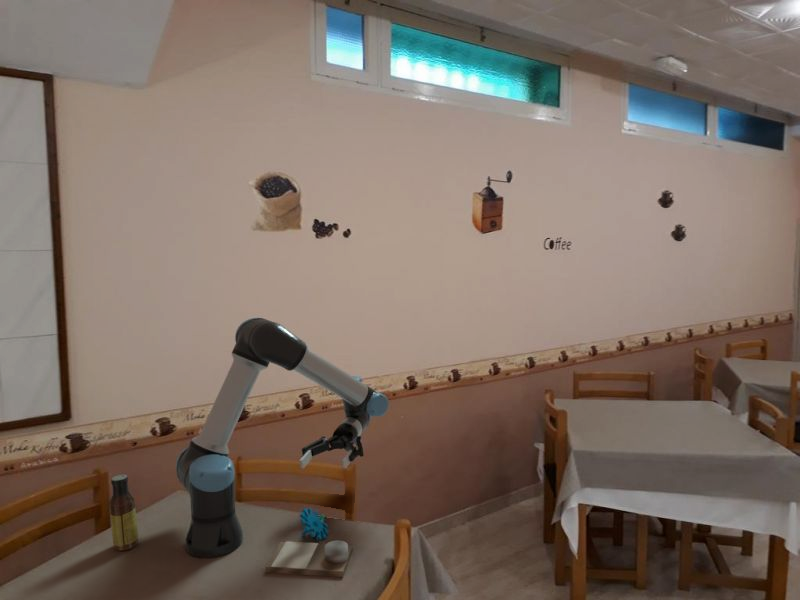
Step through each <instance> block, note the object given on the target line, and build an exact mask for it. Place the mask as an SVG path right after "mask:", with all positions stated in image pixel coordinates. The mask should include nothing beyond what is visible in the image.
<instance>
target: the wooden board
mask: <svg viewBox="0 0 800 600" xmlns="http://www.w3.org/2000/svg"><path fill="white" fill-rule="evenodd" d="M353 548H354V547H353V545H349V543H347V542H346V541H344V540H339V539H338V540H337V539H335V540H332V541H331V540H330V541H329V542H327V543H318V542H301V541H280V542H279V543H278V546H276V549H275V550H274V552H273V553H272V555H271V557H270V559H269V560H268V562H267V563H266V565H265V566H264V567H265V573H272V574H286V575H287V574H288V575H301V576H302V575H305V576H320V577H335V578H344V576H345V573H346V570H347V567H348V565H349V562H350V559H351V556H352V555H353V551H354V550H353Z"/></svg>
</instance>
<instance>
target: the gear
mask: <svg viewBox="0 0 800 600" xmlns="http://www.w3.org/2000/svg"><path fill="white" fill-rule="evenodd" d="M312 512H313V508H311V507H308V508H303V509H302V513H300V514H299V517H300V518H301V520H300V524H301V525H303V526H305V527H303V529H304V530H303V531H302V532H301V535H302V536H303V537H304V536H305V535H307V534H308V533H309V532H310V531H311V532H310V533H309V536H310V537H311V538H312V539H314V538H316V540H317V541H321V540H326V538H328V537H327V535H328V534H329V532H330V531H329V529H327V528H328V523H327V522H324V520H325V517H326V516H325V514H324V513H321V514H320V515H319V511H318V510H317V509H316V510H314V512H313V513H312ZM318 515H319V516H318ZM316 535H317V536H316Z"/></svg>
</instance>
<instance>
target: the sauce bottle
mask: <svg viewBox="0 0 800 600" xmlns="http://www.w3.org/2000/svg"><path fill="white" fill-rule="evenodd" d="M110 481H111V485H112V496H111V498H110V500H109V511H110V512H109V515H110V526H111V536H112V537H111V538H112V544H113V547H114V549H115V550H116V551H118V552H119V551H120V552H121V551H129V550H131V549H133V548H135V547H136V546H137V545H138V544H139V531H138V523H137V522H138V521H137V514H136V513H137V512H136V505H135V499H134V497H133V495H132V494H131V493H130V491H129V485H128V484H129V483H128V481H129V478H128V475H127V474H117V475H115V476H113V477H111V479H110Z"/></svg>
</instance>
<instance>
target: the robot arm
mask: <svg viewBox="0 0 800 600" xmlns="http://www.w3.org/2000/svg"><path fill="white" fill-rule="evenodd" d="M234 339H235V340H234V341H235V344H234V347H233V350H232V351H231V356H232V358H233V361H232V364H231V366H230V368H229V370H228V372H227V374H226V377H225V379H224V381H223V383H222V385H221V388H220V389H219V391H218V394H217V396H216V398H215V401H214V403H213V405H212V407H211V410H210V411H209V413H208V415H207V418H206V420H205V421H204V425H203V426H202V428H201V431H200V433H199V434H198V435H196V436H194V437H192V439H190V442H189V445H188V446H187V447H185V448H184V449H183V450H182V451H181V452H180V453H179V454H178V456H177V459H176V460H175V461H176V462H175V472H176V476H177V478H178V480H179V481H178V482H180V483H181V484H182V485H183V487H184V488H185V490H186V491H187V493H188V494H189V498H190V513H191V516H190V517H191V518H190V519H191V520H190V524H189V526H188V530H187V533H186V537H185V550H186V552H187V554H189V556H190V555H191V556H192V557H196V558H205V559H207V558H215V557H221V556H223V555H226V554H229V553H231V552H233V551H235V550H236V549H238V548H239V547H240V546H241V544H242V543H243V541H244V535H243V534H244V531H243V529H242V528H243V527H242V525H241V523H240V521H239V518H238V515H237V514H236V513H237V512H236V493H235V492H236V489H235V487H236V486H235V485H236V484H235V476H236V473H235V472H236V471H235V467H234V462H233V461H232V459H230V458H229V457H228V456H229V454H230V450H229V448H228V444H229V441H230V439H231V436H232V435H233V433H234V430H235V428H236V425H237V424H238V421H239V419H240V417H241V415H242V412H243V410H244V408H245V406H246V404H247V401H248V399H249V396H250V394H251V393H252V390H253V389H254V385H255V384H256V381H257V379H258V377H259V375H260V372H261V371H263V370H265V369H268V367H269V364H270V363H271V364H274V365H277V366H279V367H282V369H285V370H286V371H287V372H293V371H295V372H296V373H299V374H300V375H301V376H303V377H305V378H306V379H309V380H310V381H311V382H314V383H315V384H317V385H319V386H320V387H322V388H323V389H325V390H327V391H329V392H331V393H332V394H334V395H336V396H337V397H339V398H341V400H342V403H343V409H344V415H345V416H344V417H345V418H344V419H343V420H342V422H340V424H339V425H338V426H337V427H336V428H335V430H334V431H333V432H332V436H331V437H329V438H326V436H321V437H319V439H317V440H316V441H314V442H313V441H312V443H310V444H308V445H305V446H304V447H302V448H301V454H302V456H301V457H300V459H299V465H300V469H302V470H303V469H305V467H307V465H308V464H309V463H310V462H311V461H312V459H313V457H315V456H317V455H319V454H321V453H324V452H327V451H328V452H331V451H333V450H338V449H339V450H343V449H344V450H345V451H346V452H347V453H346V454H345V456H344V457H343V458H342V459H341V463H342V469H343V470H346V469H347V468H348V466H349V465H350V464H351V462H354V460H355V459H356V458H358V457H360V458H362V457H364V449H363V440H362V436H361V435H362V433H363V432H364V430H366V429H367V427H368V426H369V424H370V421H371V420H372V417H375V418H379V417H382V416H384V415H385V414H386V412H387V411H388V409H389V400H388V398H387V396H386V395H385V394H383V393H382V392H378V391H377V390H375V389H373V388H372V387H370V386H369V385H367V384H366V383H364V382H363V380H362V378H361V376H358V375H352V374H349V373H348V372H346V371H345V370H343V369H341V368H340V367H338V366H336V365H335V364H334V363H332V362H330V361H329V360H327V359H325V358H324V357H322V355H321V356H320V355H319V354H317V353H316V352H314V351H313V350H311V349H310V348H309V347H308V343H306V342H305V341H304V340H302V339H301V338H299V337H298V336H296V334H294V333H292V332H291V331H290V330H289V329H287V328H286V327H285V326H284V325H282V324H280V323H277V322H275V321H272V320H268V319H266V318H263V317H251V318H248V319H246V320H244V321H243V322H242V323H241V324H240V325H239V326H238V327H237V329H236V331H235V337H234ZM354 444H355V445H356V446H354Z"/></svg>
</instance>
